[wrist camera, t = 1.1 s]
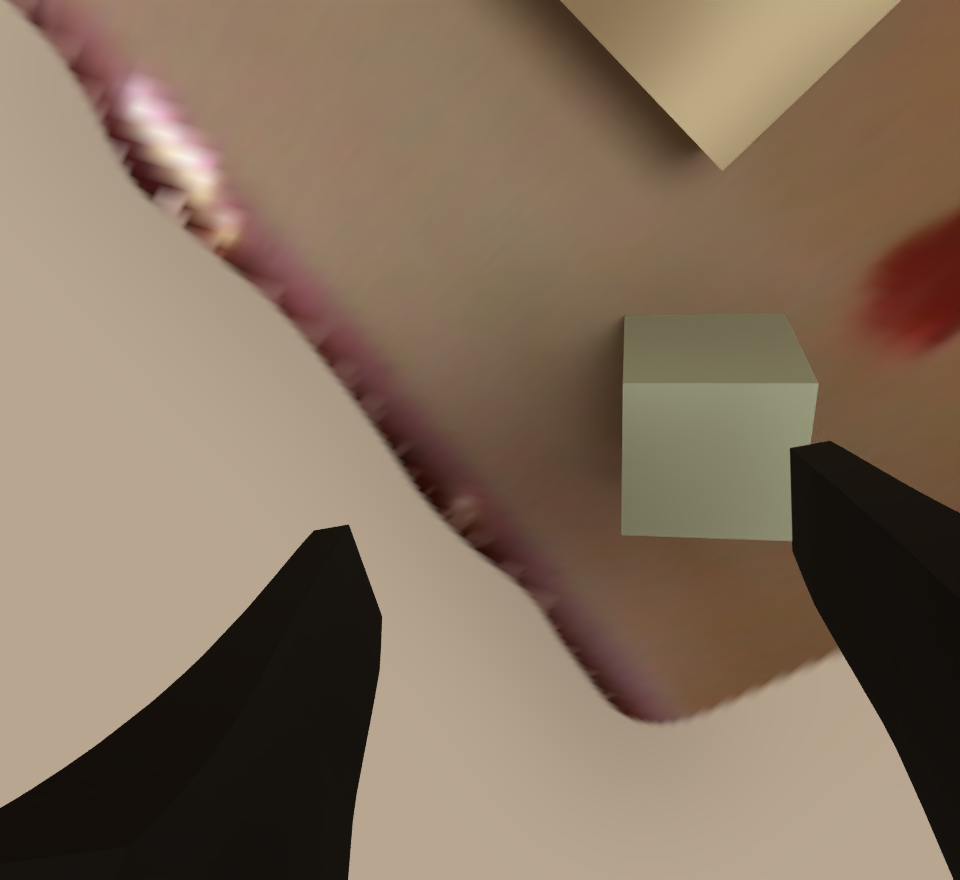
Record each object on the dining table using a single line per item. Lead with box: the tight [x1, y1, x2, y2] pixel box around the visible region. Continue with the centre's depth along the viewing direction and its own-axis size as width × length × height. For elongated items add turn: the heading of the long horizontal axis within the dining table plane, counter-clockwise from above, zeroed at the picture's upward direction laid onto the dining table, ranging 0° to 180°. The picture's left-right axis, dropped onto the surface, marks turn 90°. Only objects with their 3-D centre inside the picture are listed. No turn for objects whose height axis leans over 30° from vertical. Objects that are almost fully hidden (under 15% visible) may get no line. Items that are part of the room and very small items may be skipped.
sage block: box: [621, 313, 819, 541], centre depth 23 cm, size 5×5×5 cm
